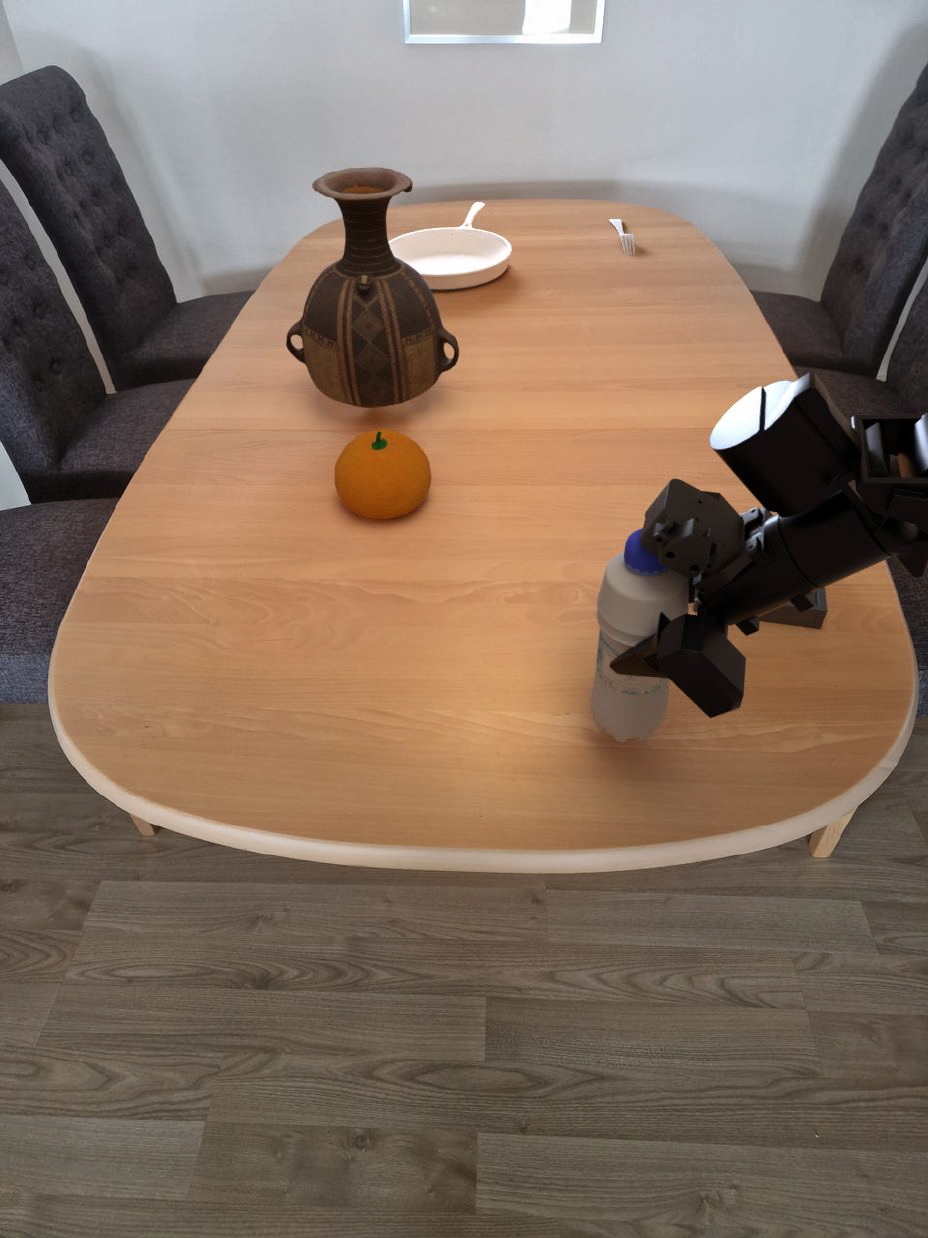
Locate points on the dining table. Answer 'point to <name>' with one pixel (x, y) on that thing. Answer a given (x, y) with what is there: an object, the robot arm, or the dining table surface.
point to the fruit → (382, 474)
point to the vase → (370, 305)
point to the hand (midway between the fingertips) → (619, 639)
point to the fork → (624, 235)
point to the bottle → (633, 639)
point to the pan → (454, 254)
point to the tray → (798, 613)
